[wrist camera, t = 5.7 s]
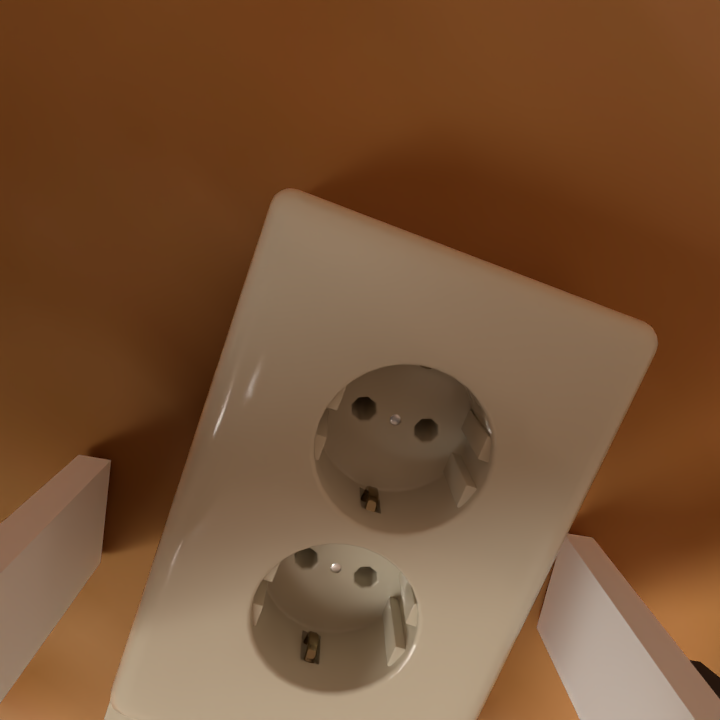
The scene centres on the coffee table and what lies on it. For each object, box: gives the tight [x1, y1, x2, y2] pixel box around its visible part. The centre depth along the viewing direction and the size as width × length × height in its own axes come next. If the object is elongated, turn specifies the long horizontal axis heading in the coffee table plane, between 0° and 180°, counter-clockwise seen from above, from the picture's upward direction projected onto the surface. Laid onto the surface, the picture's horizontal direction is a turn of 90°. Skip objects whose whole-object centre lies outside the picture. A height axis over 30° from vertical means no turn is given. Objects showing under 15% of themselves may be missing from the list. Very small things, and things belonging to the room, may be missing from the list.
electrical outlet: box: [104, 188, 658, 720], centre depth 14 cm, size 7×4×18 cm
